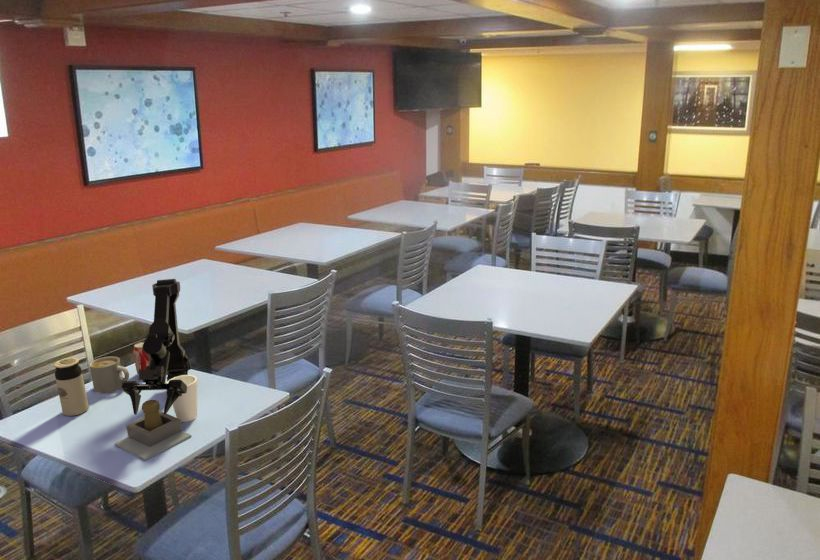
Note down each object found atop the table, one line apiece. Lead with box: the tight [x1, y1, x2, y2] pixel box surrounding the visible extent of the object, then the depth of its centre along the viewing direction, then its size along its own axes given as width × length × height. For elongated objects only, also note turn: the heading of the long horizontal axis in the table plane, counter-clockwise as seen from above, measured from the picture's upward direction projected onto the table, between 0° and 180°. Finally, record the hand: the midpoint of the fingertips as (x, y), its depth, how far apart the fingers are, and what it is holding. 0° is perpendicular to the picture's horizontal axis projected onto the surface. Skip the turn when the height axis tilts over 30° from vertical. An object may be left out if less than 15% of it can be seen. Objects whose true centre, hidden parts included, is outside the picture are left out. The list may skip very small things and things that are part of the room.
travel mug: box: [53, 357, 90, 417], centre depth 223 cm, size 8×8×18 cm
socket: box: [114, 410, 192, 461], centre depth 204 cm, size 16×16×5 cm
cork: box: [141, 399, 163, 431], centre depth 206 cm, size 6×6×11 cm
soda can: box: [132, 341, 150, 376], centre depth 251 cm, size 7×7×12 cm
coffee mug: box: [89, 355, 130, 394], centre depth 241 cm, size 13×10×10 cm
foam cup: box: [166, 374, 199, 423], centre depth 217 cm, size 10×9×13 cm
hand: (150, 414), depth 204 cm, fingers open, 9 cm apart
